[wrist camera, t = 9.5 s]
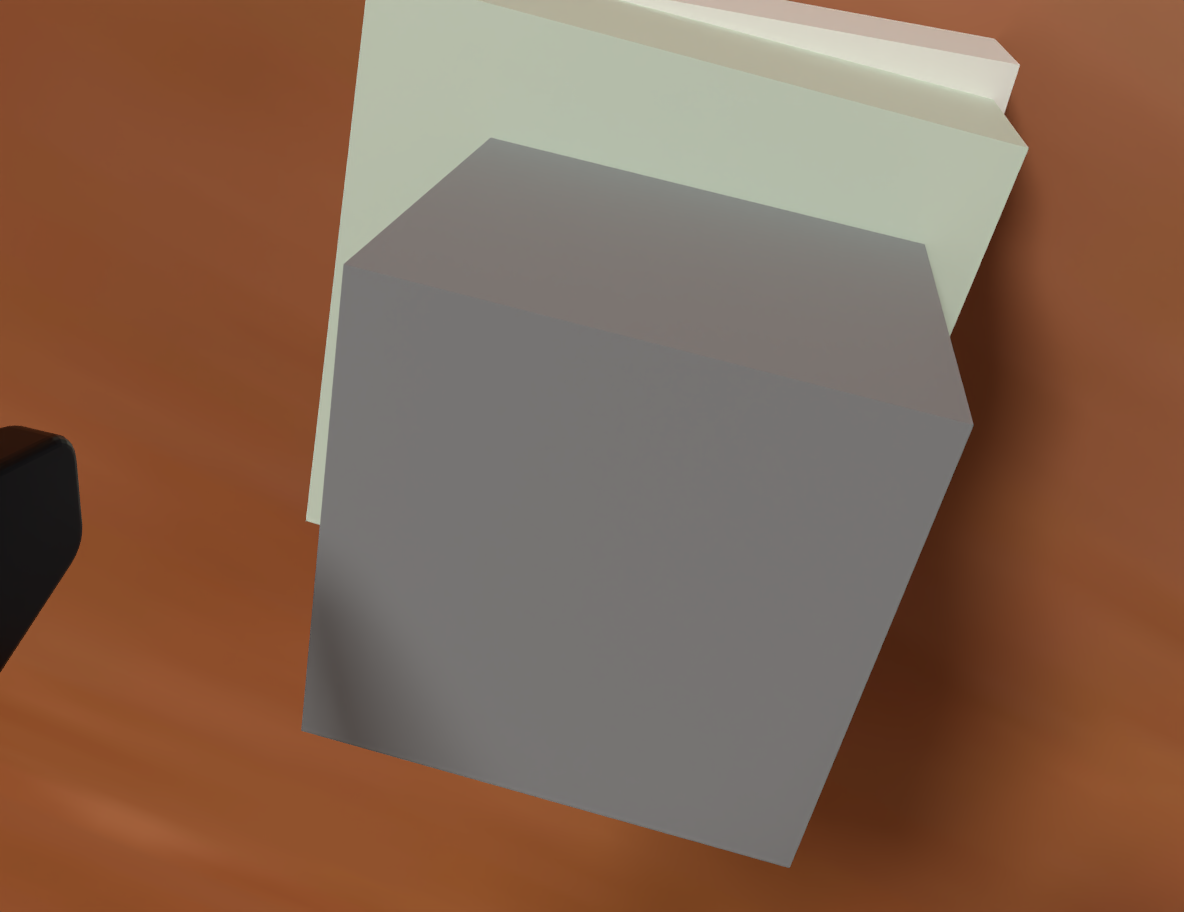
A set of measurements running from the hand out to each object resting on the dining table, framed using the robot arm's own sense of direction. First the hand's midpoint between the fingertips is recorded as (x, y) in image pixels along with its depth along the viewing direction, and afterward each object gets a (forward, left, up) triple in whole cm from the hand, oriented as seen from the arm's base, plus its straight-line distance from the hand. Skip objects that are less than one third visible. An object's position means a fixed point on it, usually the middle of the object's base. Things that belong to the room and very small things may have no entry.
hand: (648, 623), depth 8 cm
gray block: (+1, +2, -7) cm, 7 cm away
